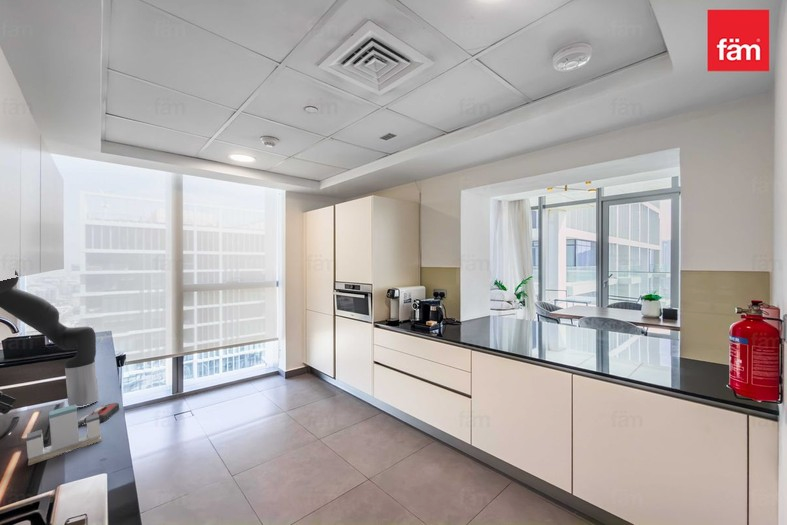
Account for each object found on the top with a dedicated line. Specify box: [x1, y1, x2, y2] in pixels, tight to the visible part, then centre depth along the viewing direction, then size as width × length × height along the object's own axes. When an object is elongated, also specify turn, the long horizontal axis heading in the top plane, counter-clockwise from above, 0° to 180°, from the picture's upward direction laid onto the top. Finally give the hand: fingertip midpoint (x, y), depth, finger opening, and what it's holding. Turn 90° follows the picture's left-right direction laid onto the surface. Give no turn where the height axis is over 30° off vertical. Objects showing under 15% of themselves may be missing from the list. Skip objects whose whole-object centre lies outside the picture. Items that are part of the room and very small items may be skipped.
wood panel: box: [27, 435, 102, 466], centre depth 103 cm, size 7×16×1 cm, turn 135°
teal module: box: [48, 404, 80, 451], centre depth 103 cm, size 4×6×11 cm
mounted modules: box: [25, 413, 102, 460], centre depth 103 cm, size 4×16×6 cm, turn 135°
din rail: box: [28, 433, 101, 461], centre depth 103 cm, size 5×16×1 cm, turn 135°
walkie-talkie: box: [78, 402, 120, 427], centre depth 122 cm, size 9×4×20 cm
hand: (11, 406), depth 95 cm, fingers open, 8 cm apart
